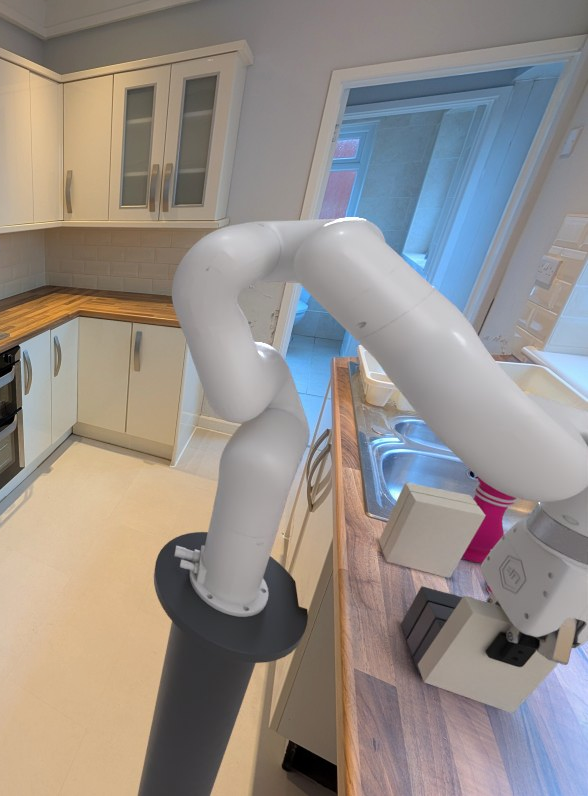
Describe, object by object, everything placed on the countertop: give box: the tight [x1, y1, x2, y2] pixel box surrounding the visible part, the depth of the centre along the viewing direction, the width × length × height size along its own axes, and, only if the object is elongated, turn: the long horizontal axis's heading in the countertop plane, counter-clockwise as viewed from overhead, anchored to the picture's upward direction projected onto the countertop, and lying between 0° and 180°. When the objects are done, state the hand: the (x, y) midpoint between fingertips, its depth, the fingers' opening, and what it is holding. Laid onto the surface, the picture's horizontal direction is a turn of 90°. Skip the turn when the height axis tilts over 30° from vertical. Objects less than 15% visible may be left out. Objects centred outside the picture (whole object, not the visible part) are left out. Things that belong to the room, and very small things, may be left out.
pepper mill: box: [461, 476, 518, 563], centre depth 74 cm, size 7×7×20 cm
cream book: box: [418, 595, 559, 714], centre depth 52 cm, size 9×2×14 cm, turn 67°
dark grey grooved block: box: [400, 585, 463, 677], centre depth 58 cm, size 9×8×8 cm
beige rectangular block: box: [378, 481, 486, 579], centre depth 74 cm, size 9×5×14 cm, turn 67°
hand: (496, 646), depth 51 cm, fingers closed on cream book, 2 cm apart
